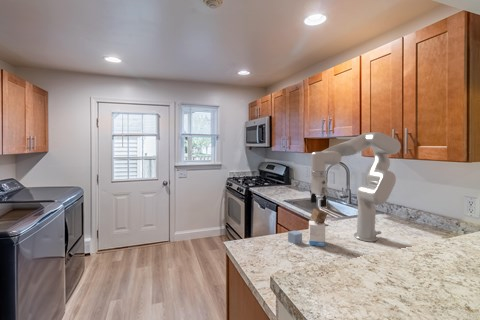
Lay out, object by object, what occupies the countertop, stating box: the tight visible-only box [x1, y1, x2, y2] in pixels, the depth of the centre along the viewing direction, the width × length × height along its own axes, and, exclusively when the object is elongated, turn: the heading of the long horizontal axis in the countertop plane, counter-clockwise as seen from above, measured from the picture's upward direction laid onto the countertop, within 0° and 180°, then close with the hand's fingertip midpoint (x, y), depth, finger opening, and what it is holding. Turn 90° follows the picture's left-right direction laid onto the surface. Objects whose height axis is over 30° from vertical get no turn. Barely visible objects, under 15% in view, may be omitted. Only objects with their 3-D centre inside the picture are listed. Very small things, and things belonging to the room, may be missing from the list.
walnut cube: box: [310, 208, 328, 223], centre depth 139 cm, size 6×6×6 cm
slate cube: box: [287, 229, 303, 245], centre depth 142 cm, size 6×6×6 cm
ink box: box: [308, 220, 326, 247], centre depth 140 cm, size 9×8×13 cm
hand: (318, 204), depth 139 cm, fingers open, 9 cm apart
